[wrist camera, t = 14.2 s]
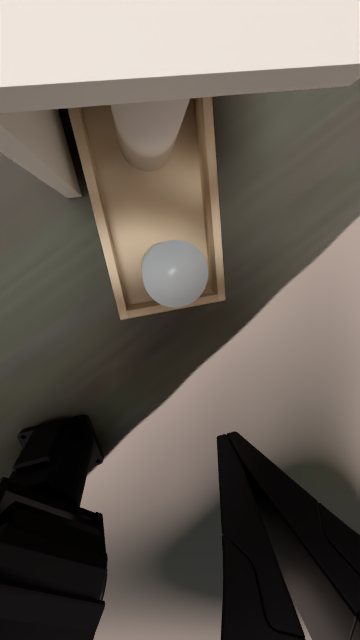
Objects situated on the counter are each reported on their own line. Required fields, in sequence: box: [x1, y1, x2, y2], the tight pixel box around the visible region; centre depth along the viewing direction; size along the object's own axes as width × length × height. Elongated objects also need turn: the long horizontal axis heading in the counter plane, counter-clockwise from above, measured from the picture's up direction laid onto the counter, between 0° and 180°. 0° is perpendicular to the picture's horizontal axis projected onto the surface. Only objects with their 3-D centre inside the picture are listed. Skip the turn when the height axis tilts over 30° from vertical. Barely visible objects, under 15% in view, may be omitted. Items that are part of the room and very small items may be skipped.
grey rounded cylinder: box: [141, 240, 208, 308], centre depth 15 cm, size 4×4×6 cm
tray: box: [68, 97, 226, 320], centre depth 16 cm, size 15×9×2 cm, turn 8°
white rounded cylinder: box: [111, 98, 190, 172], centre depth 12 cm, size 4×4×6 cm
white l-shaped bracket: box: [0, 0, 360, 198], centre depth 10 cm, size 8×12×12 cm, turn 99°
